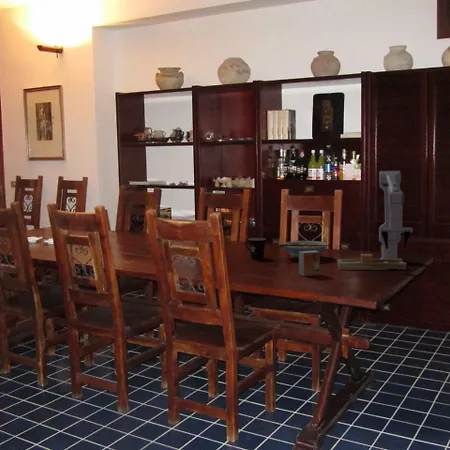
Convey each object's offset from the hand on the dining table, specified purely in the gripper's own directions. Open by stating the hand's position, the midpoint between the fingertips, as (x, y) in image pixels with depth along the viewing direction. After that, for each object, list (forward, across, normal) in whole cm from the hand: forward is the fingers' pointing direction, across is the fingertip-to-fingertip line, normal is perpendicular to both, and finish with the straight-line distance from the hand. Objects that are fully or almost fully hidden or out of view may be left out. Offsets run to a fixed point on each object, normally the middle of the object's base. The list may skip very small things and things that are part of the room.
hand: (395, 248), depth 276 cm
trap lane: (+10, -10, +6) cm, 16 cm away
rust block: (+8, -12, +7) cm, 16 cm away
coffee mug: (+11, -65, +34) cm, 74 cm away
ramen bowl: (+11, -40, +32) cm, 52 cm away
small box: (+10, -39, -9) cm, 41 cm away
